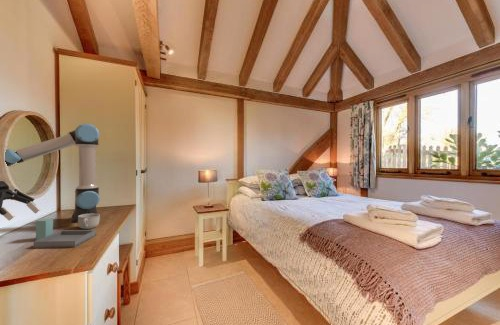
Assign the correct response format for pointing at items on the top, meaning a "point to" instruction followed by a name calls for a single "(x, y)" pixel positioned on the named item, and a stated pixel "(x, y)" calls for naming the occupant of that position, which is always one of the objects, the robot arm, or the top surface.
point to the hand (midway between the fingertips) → (25, 214)
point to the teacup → (88, 221)
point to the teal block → (44, 228)
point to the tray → (65, 239)
